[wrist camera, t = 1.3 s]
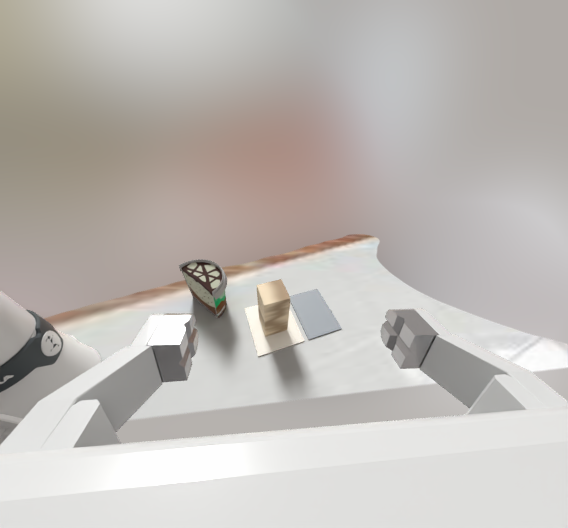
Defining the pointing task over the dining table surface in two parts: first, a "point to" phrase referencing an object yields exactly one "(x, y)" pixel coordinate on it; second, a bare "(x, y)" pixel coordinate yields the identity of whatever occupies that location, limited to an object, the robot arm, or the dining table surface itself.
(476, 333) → the dining table surface
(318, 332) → the board
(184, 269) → the food container
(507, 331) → the dining table surface
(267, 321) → the birch block
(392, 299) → the dining table surface
